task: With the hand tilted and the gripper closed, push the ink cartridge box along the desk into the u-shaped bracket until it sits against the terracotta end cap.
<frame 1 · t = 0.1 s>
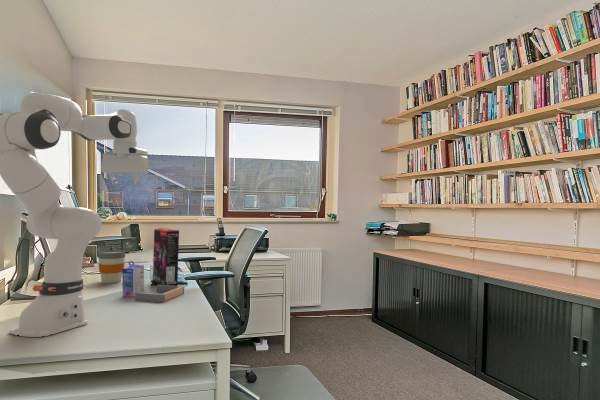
hand: (124, 184, 168), 48 cm above the table, tool pointing down, fingers open, 8 cm apart
u-shaped bracket: (160, 296, 177), on the table
ink cartridge box: (133, 294, 180), on the table
reusable coffee cup: (111, 281, 206), on the table
graphics card box: (165, 285, 201), on the table
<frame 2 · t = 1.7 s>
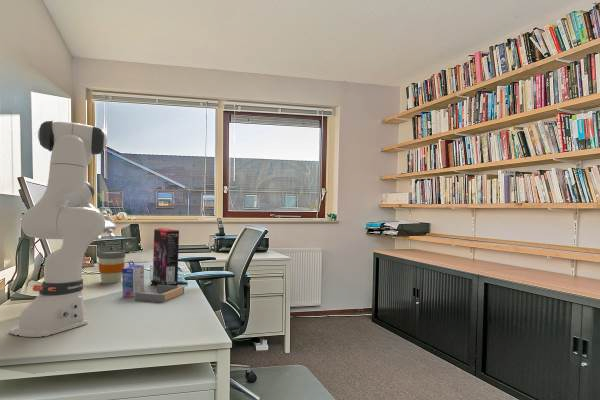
hand: (106, 238, 183), 24 cm above the table, tool tilted 45°, fingers open, 7 cm apart
nothing on the table moved.
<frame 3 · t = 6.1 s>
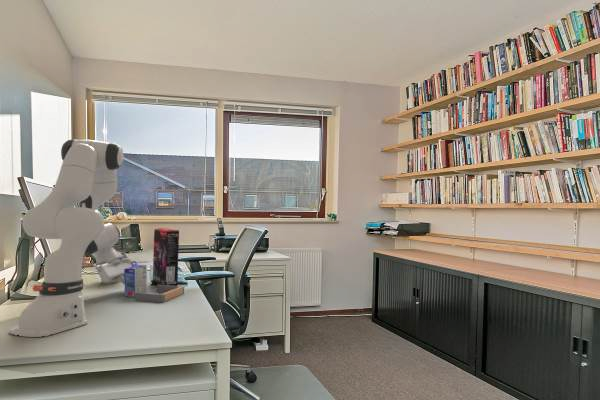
hand: (128, 284, 181), 4 cm above the table, tool tilted 45°, fingers closed
ink cartridge box: (135, 294, 180), on the table, touching gripper
everything else where it was.
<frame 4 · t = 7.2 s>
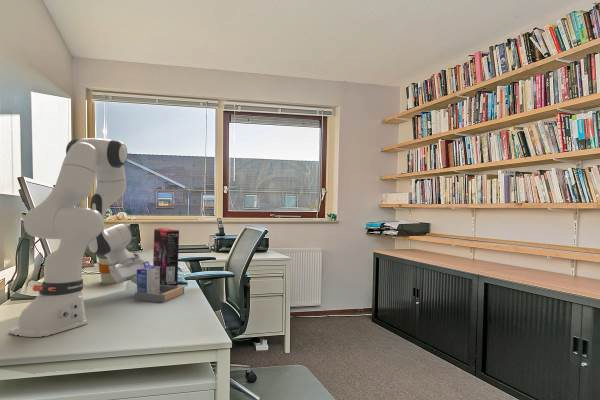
hand: (141, 284, 179), 4 cm above the table, tool tilted 45°, fingers closed, pressing on ink cartridge box
ink cartridge box: (148, 295, 178), on the table, touching gripper
everything else where it was.
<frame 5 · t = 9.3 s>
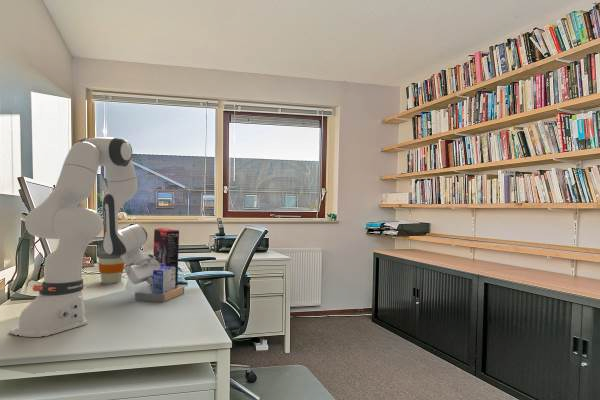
hand: (157, 286, 177), 4 cm above the table, tool tilted 45°, fingers closed, pressing on ink cartridge box
ink cartridge box: (163, 296, 177), on the table, touching gripper
everything else where it was.
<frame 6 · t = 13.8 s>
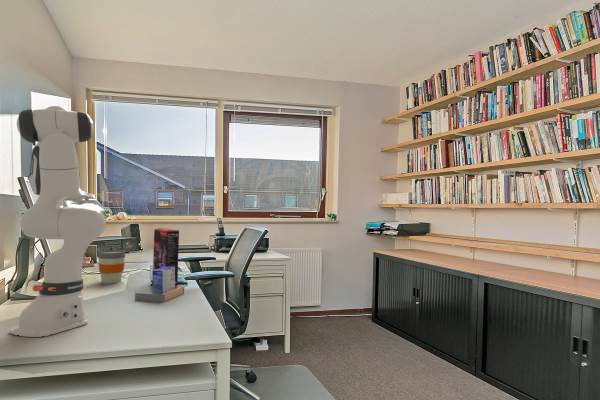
hand: (94, 223, 173), 31 cm above the table, tool tilted 45°, fingers closed
ink cartridge box: (163, 297, 177), on the table
everything else where it was.
at the end: ink cartridge box inside the target area (0.2 cm from its centre), on the table; ink cartridge box tilted 0° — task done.
